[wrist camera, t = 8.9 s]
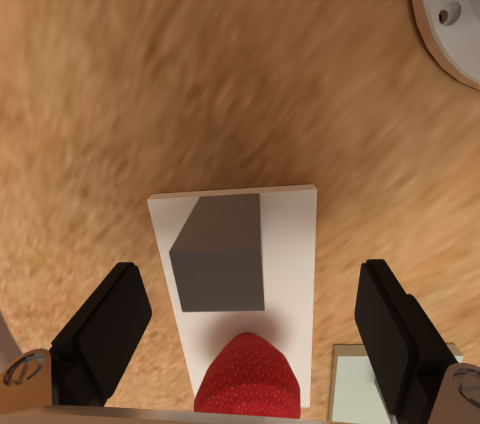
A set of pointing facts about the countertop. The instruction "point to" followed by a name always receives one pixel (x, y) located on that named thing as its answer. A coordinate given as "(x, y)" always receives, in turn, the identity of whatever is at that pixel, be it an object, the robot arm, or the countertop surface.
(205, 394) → the strawberry
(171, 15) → the countertop surface
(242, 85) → the countertop surface
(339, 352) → the pale green board
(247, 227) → the white serving board
